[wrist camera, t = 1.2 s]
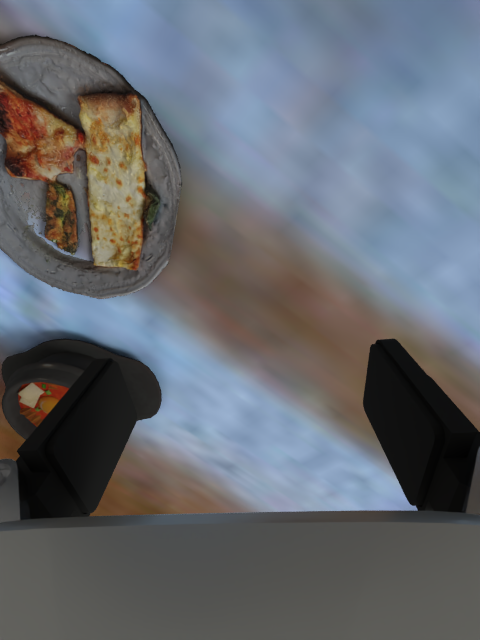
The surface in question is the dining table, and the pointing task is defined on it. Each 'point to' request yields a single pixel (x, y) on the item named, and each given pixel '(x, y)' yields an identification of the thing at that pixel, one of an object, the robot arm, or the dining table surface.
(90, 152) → the food plate
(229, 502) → the dining table surface
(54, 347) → the casserole
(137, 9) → the dining table surface
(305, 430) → the dining table surface
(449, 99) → the dining table surface
